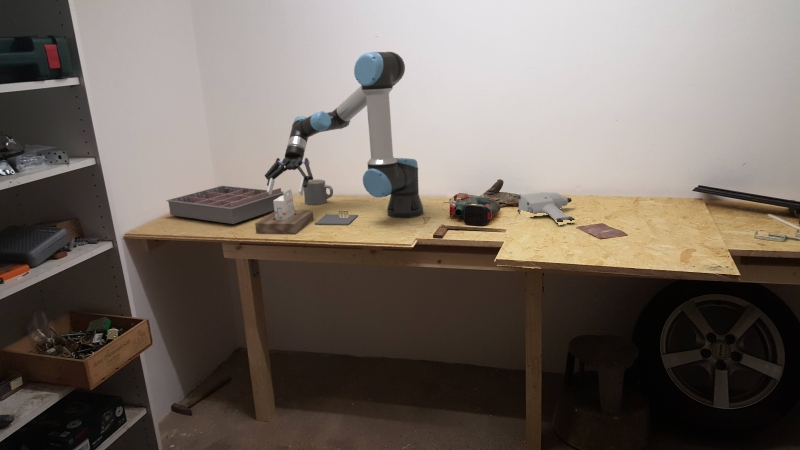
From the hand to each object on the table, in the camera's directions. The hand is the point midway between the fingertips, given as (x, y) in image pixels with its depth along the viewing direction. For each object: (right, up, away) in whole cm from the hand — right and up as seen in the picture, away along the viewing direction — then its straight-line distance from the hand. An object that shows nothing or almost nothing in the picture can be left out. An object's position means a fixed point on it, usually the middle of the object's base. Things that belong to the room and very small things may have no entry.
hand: (284, 193), depth 235 cm
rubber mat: (+21, -11, +4) cm, 23 cm away
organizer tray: (-29, -8, +24) cm, 39 cm away
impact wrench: (+108, -10, -5) cm, 109 cm away
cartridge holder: (+1, -13, -2) cm, 13 cm away
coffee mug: (+9, -3, +35) cm, 36 cm away
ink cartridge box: (+1, -13, -2) cm, 13 cm away
